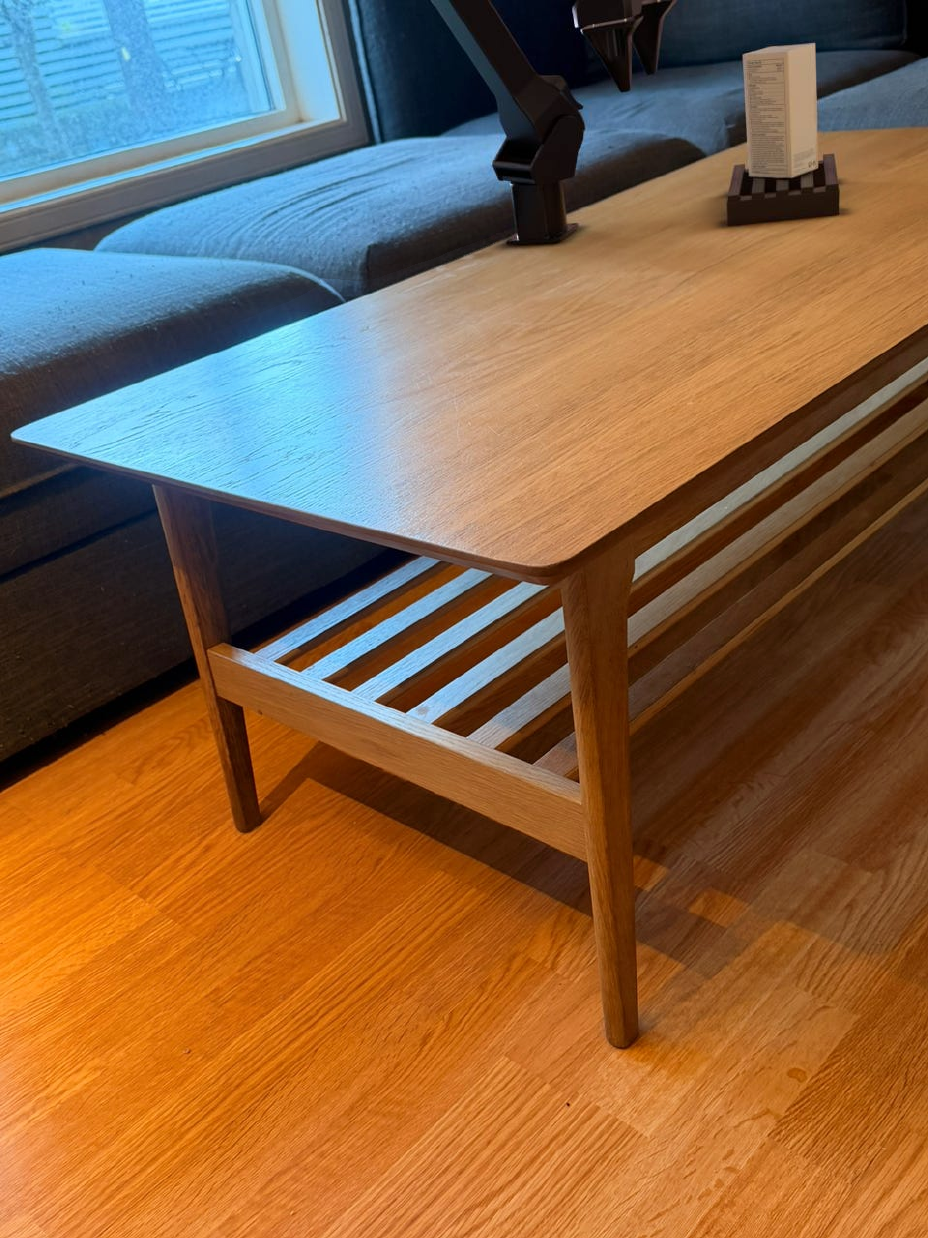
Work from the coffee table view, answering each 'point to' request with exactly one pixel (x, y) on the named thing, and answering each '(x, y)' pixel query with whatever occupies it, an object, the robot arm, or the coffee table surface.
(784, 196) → the rack
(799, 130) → the cosmetic box
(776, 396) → the coffee table surface
